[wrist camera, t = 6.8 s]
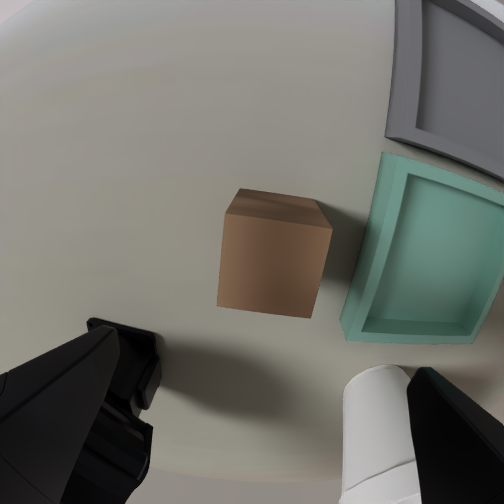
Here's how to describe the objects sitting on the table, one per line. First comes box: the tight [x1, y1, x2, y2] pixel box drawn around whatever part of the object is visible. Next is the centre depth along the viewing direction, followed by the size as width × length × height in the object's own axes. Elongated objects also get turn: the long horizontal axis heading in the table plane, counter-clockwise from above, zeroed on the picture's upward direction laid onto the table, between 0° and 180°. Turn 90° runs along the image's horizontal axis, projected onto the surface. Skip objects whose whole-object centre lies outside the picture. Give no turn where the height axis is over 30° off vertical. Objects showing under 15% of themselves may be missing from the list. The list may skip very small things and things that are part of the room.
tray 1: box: [384, 0, 504, 181], centre depth 12 cm, size 12×12×2 cm
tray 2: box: [340, 152, 504, 344], centre depth 17 cm, size 12×12×2 cm
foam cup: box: [339, 365, 422, 504], centre depth 17 cm, size 10×9×13 cm
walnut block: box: [217, 188, 333, 319], centre depth 16 cm, size 4×4×6 cm
